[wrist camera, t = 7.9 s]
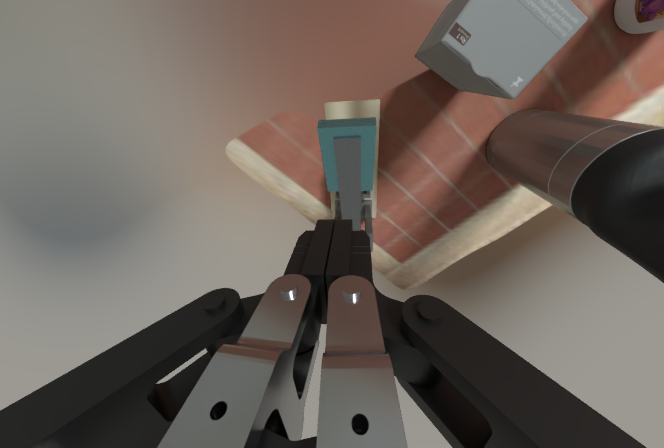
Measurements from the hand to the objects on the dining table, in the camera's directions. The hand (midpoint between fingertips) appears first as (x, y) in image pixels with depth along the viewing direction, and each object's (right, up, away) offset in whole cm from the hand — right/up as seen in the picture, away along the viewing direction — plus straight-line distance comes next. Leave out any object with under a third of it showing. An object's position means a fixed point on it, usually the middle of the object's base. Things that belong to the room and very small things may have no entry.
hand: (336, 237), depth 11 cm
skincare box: (+15, +23, +21) cm, 35 cm away
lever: (+3, +6, +22) cm, 23 cm away
